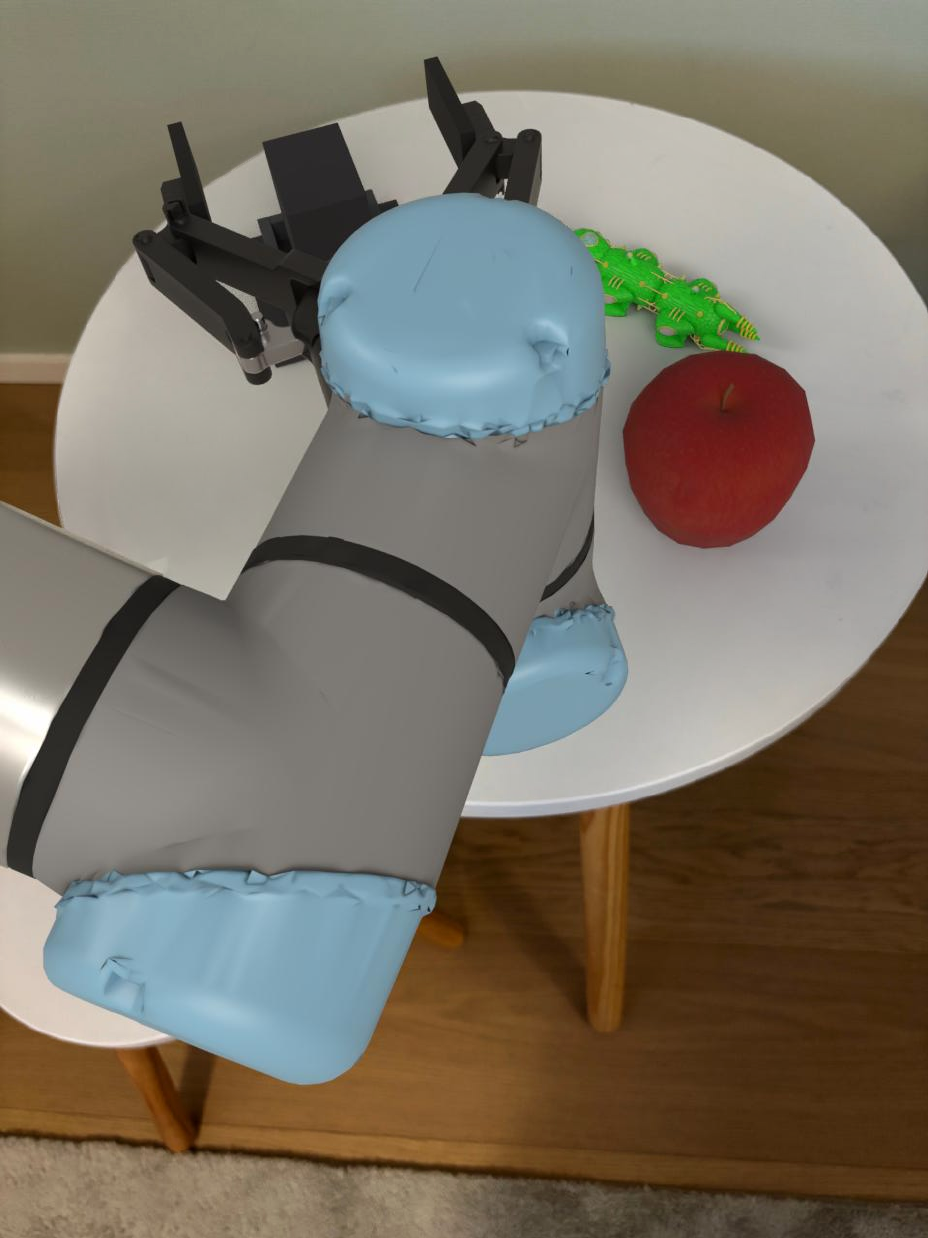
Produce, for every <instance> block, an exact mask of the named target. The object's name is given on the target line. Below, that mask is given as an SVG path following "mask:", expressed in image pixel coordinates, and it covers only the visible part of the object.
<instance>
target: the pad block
mask: <svg viewBox="0 0 928 1238" xmlns="http://www.w3.org/2000/svg"><path fill="white" fill-rule="evenodd" d="M261 144H262V148H263V151H264V155H265V158H266V162H267V165H268V170H269V174H270V176H271V181H272V185H273V187H274V192H275V194H276V198H277V202H278V205H279V210H280V213H282V217H283V221H284V224H285V228H286V232H287V235H288V239H289V242H290V246H291V249H292V250H293V249H296V250H299V251H302V252H304V253H307V254H309V255H311V256H314V257H316V258H319V259H321V260H324V261H326V262H327V261H328V260H330V259H331V258H330V254H333V253H336V252H337V250H338V249H339V248H340V246H341V245H342V244H343V243H344V242H345V241H346V240H347V239H348V238H349V237H350V236H351V235H352V234H353V233H354V232H355V231H356V230H358V229H359V228H360V227H362V226H363V225H364V224H366V223H367V222H368V221H370V220H371V216H370V211H369V206H368V200H367V195H366V192H365V190H366V189H365V187H364V185H363V182H362V179H361V177H360V174H359V172H358V169H357V166H356V164H355V161H354V160H353V157H352V154H351V152H350V150H349V147H348V145H347V142H346V140H345V136H344V135H343V132H342V130H341V126H340V124H339V122H333V123H329V124H326V125H323V126H319V127H314V128H311V129H307V130H303V131H298V132H295V133H291V134H287V135H284V136H280V137H276V138H272V139H268V140H264V141H262V142H261Z"/></svg>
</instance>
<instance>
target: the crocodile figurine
mask: <svg viewBox="0 0 928 1238" xmlns="http://www.w3.org/2000/svg"><path fill="white" fill-rule="evenodd" d="M572 231H573V232H574V233H575V234H576V235H577V236H578V237H579V238H580V239H581V241H582V242H583V243H584V245H585V246H586V247H587V248H588V250H589V251H590V253H591V254H592V256H593V258H594V260H595V262H596V264H597V267H598V269H599V272H600V275H601V279H602V284H603V289H604V299H605V316H610V317H624V316H627V310H628V308H629V307H630V305H631V303H634V304H636V310H637V311H641V310H642V309H643V308H644V309H646V310H648V311H650V312H652V313H654V314H656V315H657V316H656V318H655V321H654V328H655V330H656V333H655V341H656V342H657V343H658V344H659V345H660V346H662V347H666V348H684V347H685V344H684V343H685V341H686V340H687V338H688V336H689V337H690V339H692V340H693V342H694V343H695V344H696V345H697V346H698V348H700V349H702V350H708V351H719V350H726V351H734V352H742V353H749V352H748V351H747V350H745V348H744V347H743V346H741V344H738V343H737V342H734V340H732V339H730V340H729V341H728V340H727V339H725V338H723V337H721V336H722V335H723V334H724V333H725V332H726V330H728V331H731V332H734V333H736V334H738V335H739V337H740V338H741V339H742V338H744V339H745V340H749V341H754V342H755V341H758V342H759V341H761V338H760V336H759V334H758V330H757V329H756V328H755V327H756V326H755V325H753V322H752V321H751V322H750V319H749V318H748V319H747V315H741V314H740V313H739V312H738V311H737V310H736V309H735V308H734V307H732V305H730V304H729V303H728V302H727V301H725V300H723V299H722V298H721V295H722V294H721V292H719V288H718V286H717V284H716V283H715V282H713V281H711V280H709V279H707V278H706V277H700V278H696V279H695V280H692V281H690V282H688V281H686V279H687V276H686V275H685V274H682V276H681V277H678V276H675V275H674V274H671V273H669V272H667V271H665V270H663V263H660V262H659V257H658V255H657V254H656V253H655V251H652V250H650V249H648V248H646V247H641V248H636V249H634V250H633V249H628V250H627V245H626V244H622V245H621V247H618V246H616V245H615V244H612V243H611V241H610V240H609V239H607V238H604V237H603V234H602V233H601V232H600V231H599V230H594V229H590V228H585V227H581V228H578V229H574V230H572ZM666 276H670V279H668V278H666ZM651 306H652V307H653V308H654V309H651ZM692 335H693V336H692ZM699 341H700V342H699Z"/></svg>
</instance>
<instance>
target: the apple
mask: <svg viewBox="0 0 928 1238" xmlns="http://www.w3.org/2000/svg"><path fill="white" fill-rule="evenodd" d="M621 433H622V443H623V451H624V452H623V454H624V463H625V467H626V472H627V477H628V482H629V486H630V489H631V491H632V494H633V495H634V497H635V499H636V501H637V502H638V504H639V507H640V508H641V510H642V512H643V514H644V515H645V516H646V518H648V520H649V521H650V523H652V525H653V526H654V527H655V528H656V530H657V531H658V532H660V533H662V534H663V535H664V536H665V537H667V538H669V539H670V540H671V541H673V542H674V543H676V544H678V545H681V546H687V547H692V548H693V547H694V548H698V549H718V548H729V547H732V546H734V545H736V544H739V543H741V542H744V541H746V540H748V539H750V538H752V537H754V536H755V535H756V534H758V533H759V532H760V531H761V530H763V529H764V528H765V527H767V526H768V525H769V524H771V523H772V522H773V521H775V519H776V518H777V517H778V515H779V514H780V512H781V511H782V510H783V509H784V507H785V506H786V505H787V503H788V502H789V500H790V499H791V498H792V496H793V494H794V493H795V491H796V489H797V487H798V486H799V485H800V482H801V481H802V480H803V479H802V478H803V477H804V475H805V474H806V471H808V468H809V463H810V461H811V457H812V453H813V450H814V446H815V442H816V436H815V431H814V425H813V420H812V414H811V411H810V406H809V401H808V397H807V393H806V390H805V389H804V387H802V386H801V385H800V383H799V382H798V381H797V380H796V379H795V378H794V377H793V376H792V375H791V374H790V373H789V371H787V369H785V368H784V367H782V366H780V365H778V364H776V363H774V362H772V361H770V360H768V359H766V358H764V357H762V356H760V355H759V354H756V353H749V352H748V353H742V352H734V351H726V350H718V351H715V350H711V351H706V352H699V353H692V354H689V355H687V356H685V357H683V358H681V359H680V360H677V361H675V362H673V363H671V364H670V365H668V366H666V367H664V368H663V369H661V370H660V372H659V373H657V374H656V375H655V376H654V377H653V378H652V380H650V381H649V382H648V383H647V384H646V385H645V386H644V388H643V389H642V390H641V391H640V392H639V394H638V395H637V397H636V398H635V399H634V400H633V401H632V403H631V404H630V408H629V410H628V413H627V417H626V419H625V422H624V425H623V428H622V432H621Z"/></svg>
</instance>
